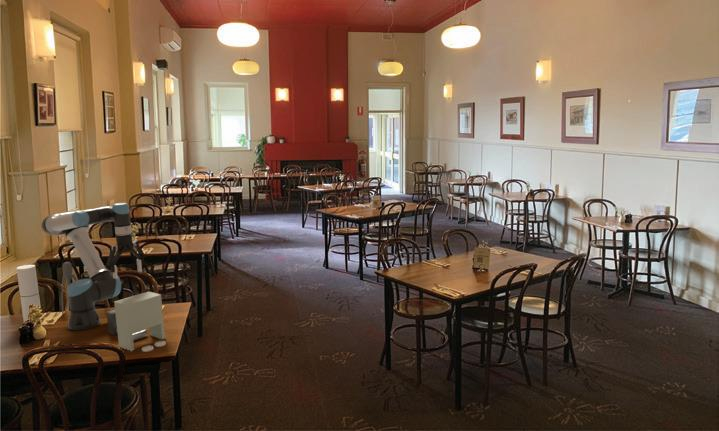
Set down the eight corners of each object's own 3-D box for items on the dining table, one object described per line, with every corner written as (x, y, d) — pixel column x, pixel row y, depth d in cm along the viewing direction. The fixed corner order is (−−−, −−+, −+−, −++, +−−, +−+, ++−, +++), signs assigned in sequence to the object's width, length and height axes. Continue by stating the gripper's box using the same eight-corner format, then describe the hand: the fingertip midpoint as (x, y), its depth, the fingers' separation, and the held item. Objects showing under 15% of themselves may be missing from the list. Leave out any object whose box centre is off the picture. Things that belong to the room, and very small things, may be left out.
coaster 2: (152, 345, 273) (152, 343, 273) (162, 342, 277) (161, 339, 277) (158, 348, 270) (158, 345, 270) (168, 344, 274) (167, 342, 273)
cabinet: (119, 346, 272) (114, 301, 268) (152, 334, 286) (148, 291, 282) (131, 351, 266) (126, 305, 262) (165, 338, 280) (160, 294, 277)
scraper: (100, 335, 286) (97, 314, 284) (124, 327, 297) (122, 307, 295) (122, 344, 275) (120, 322, 273) (147, 335, 285) (145, 314, 283)
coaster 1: (140, 349, 268) (140, 347, 268) (151, 346, 271) (151, 344, 271) (144, 353, 265) (143, 350, 264) (155, 350, 268) (154, 347, 267)
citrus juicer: (71, 319, 312) (65, 264, 306) (55, 318, 313) (48, 264, 308) (85, 312, 323) (79, 259, 317) (69, 311, 324) (62, 259, 319)
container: (21, 321, 310) (14, 267, 305) (39, 317, 316) (32, 263, 311) (26, 325, 304) (19, 269, 299) (44, 321, 310) (37, 266, 305)
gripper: (104, 239, 279) (109, 282, 283) (150, 230, 299) (153, 270, 303) (95, 238, 284) (100, 280, 287) (141, 228, 303) (145, 268, 307)
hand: (127, 275), depth 295 cm, fingers open, 13 cm apart
